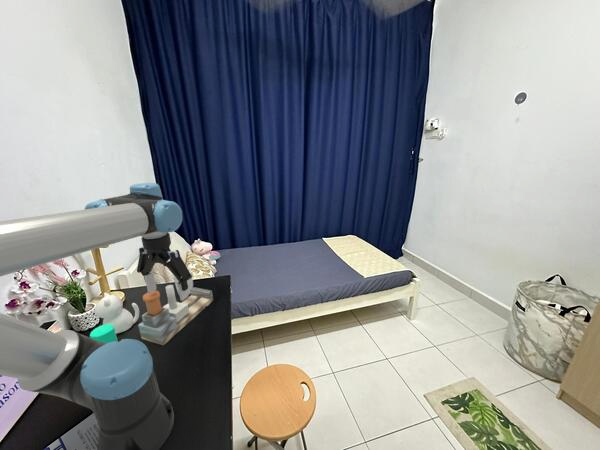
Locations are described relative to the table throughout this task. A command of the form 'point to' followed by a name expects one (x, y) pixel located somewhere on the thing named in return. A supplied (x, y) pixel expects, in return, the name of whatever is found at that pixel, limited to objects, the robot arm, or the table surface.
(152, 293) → the plunger
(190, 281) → the white cup
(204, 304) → the rail board
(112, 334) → the candle
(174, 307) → the carriage
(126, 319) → the cat figurine
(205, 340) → the table surface
